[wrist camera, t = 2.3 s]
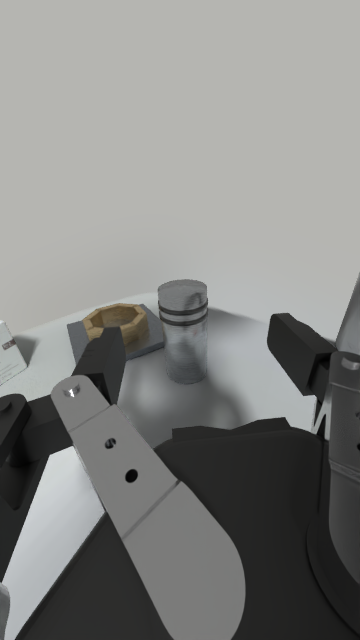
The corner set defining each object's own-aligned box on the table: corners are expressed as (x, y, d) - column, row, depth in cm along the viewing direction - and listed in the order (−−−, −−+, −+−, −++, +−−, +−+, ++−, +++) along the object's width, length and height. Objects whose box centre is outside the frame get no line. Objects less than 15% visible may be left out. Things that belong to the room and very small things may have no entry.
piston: (193, 351, 31) (190, 276, 26) (216, 373, 27) (218, 289, 22) (159, 365, 29) (148, 286, 24) (179, 391, 25) (171, 302, 20)
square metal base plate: (143, 308, 44) (140, 292, 42) (177, 341, 33) (176, 321, 32) (68, 329, 38) (62, 311, 37) (80, 378, 28) (71, 356, 26)
